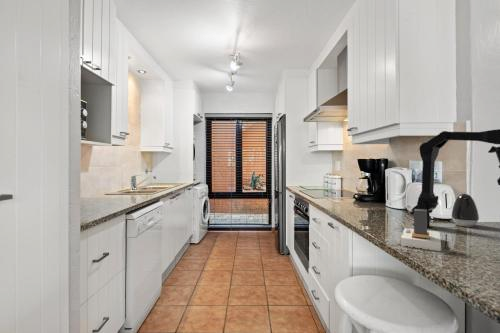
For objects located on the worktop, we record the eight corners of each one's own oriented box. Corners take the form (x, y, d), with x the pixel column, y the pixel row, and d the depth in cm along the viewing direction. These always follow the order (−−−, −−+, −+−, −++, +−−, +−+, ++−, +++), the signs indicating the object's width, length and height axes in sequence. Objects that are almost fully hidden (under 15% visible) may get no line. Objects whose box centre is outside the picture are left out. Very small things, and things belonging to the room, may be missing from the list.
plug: (412, 242, 104) (412, 208, 104) (429, 244, 101) (428, 209, 101) (412, 245, 100) (411, 210, 100) (429, 247, 97) (428, 211, 97)
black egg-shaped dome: (455, 227, 126) (455, 194, 126) (448, 222, 135) (448, 192, 135) (483, 228, 122) (482, 195, 122) (473, 224, 132) (473, 192, 132)
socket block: (404, 235, 114) (404, 226, 114) (439, 239, 107) (439, 230, 107) (401, 245, 100) (401, 236, 100) (441, 251, 93) (440, 240, 93)
